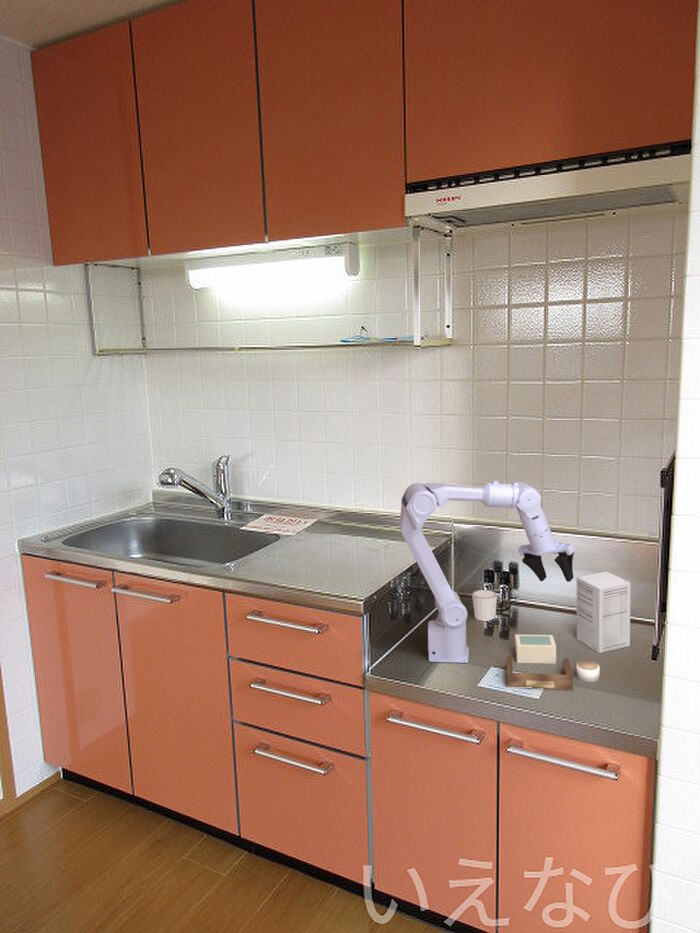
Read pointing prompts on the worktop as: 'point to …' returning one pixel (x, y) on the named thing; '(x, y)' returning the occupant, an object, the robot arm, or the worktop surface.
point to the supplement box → (603, 611)
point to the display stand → (540, 678)
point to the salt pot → (588, 671)
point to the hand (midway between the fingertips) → (556, 579)
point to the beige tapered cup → (484, 604)
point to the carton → (535, 649)
